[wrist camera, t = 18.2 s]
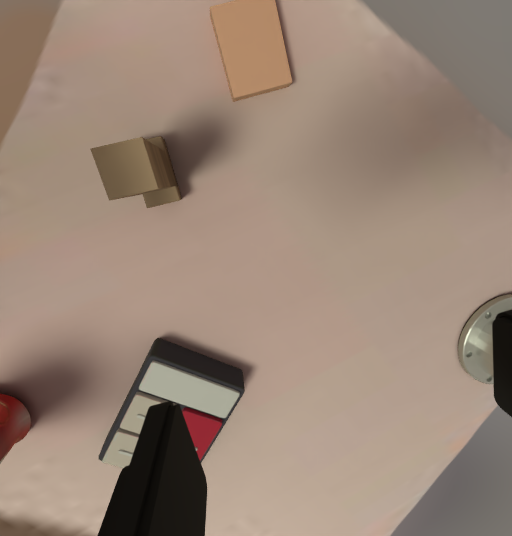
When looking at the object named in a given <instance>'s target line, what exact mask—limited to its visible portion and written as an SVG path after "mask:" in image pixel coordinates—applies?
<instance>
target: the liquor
mask: <svg viewBox="0 0 512 536" xmlns="http://www.w3.org/2000/svg"><path fill="white" fill-rule="evenodd" d="M30 426H31V419H30V415H29V413H28V411H27V409H26V408H25V406H24V405H23V404H22V403H21V402H20V401H19V400H18V399H16V398H14V397H12V396H9V395H4V394H0V463H1V462H2V461H3V459H4V458H5V456H6V455H7V454H8V452H9V451H10V449H11V448H12V447H13V445H14V444H15V443H17V442H19V441H20V440H22V439H23V438H24V437H25V436H26V435H27V433H28V432H29V429H30Z"/></svg>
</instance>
